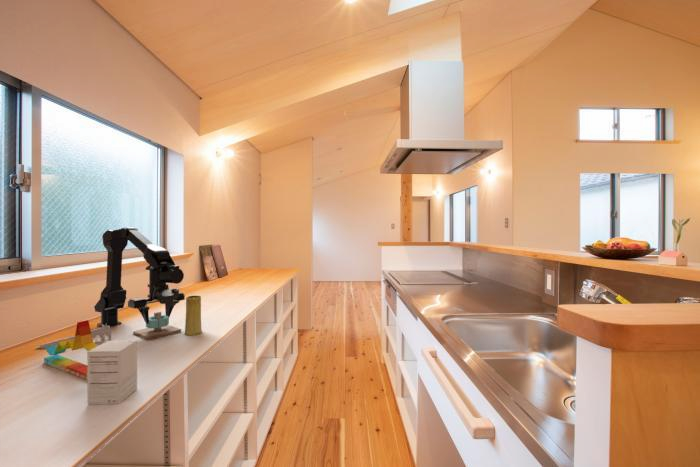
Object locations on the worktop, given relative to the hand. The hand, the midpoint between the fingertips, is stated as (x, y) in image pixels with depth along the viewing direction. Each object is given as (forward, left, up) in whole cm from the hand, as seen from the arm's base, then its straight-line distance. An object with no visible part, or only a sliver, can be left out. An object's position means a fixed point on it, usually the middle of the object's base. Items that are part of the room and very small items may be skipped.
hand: (157, 321), depth 124 cm
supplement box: (+40, -30, -5) cm, 50 cm away
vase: (+11, +8, -5) cm, 14 cm away
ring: (0, 0, -2) cm, 2 cm away
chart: (+16, -30, -5) cm, 34 cm away
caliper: (-11, -22, -5) cm, 25 cm away
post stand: (0, 0, -4) cm, 4 cm away
